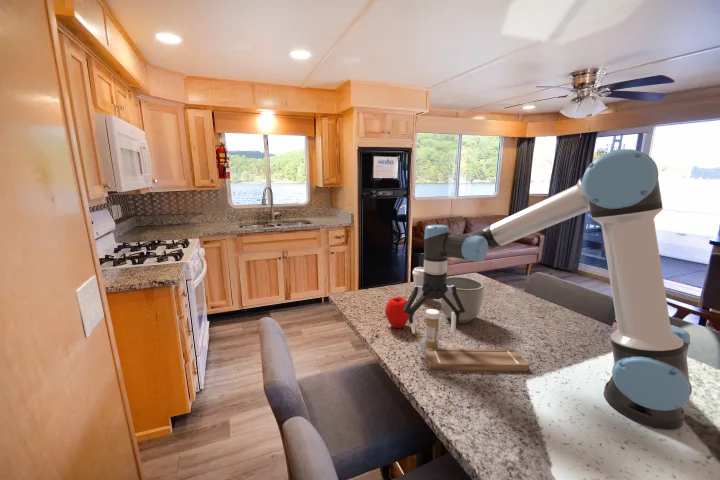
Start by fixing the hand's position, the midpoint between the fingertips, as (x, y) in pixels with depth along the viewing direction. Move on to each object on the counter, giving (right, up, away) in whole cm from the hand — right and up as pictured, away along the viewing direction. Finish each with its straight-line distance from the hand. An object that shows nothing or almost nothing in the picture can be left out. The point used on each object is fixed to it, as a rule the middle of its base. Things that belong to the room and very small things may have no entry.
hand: (433, 331), depth 105 cm
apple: (-10, -3, +18) cm, 21 cm away
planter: (+17, -2, +24) cm, 30 cm away
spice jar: (0, -6, +1) cm, 6 cm away
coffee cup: (+5, +2, +47) cm, 48 cm away
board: (+12, -8, -6) cm, 15 cm away
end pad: (0, -6, +2) cm, 6 cm away
